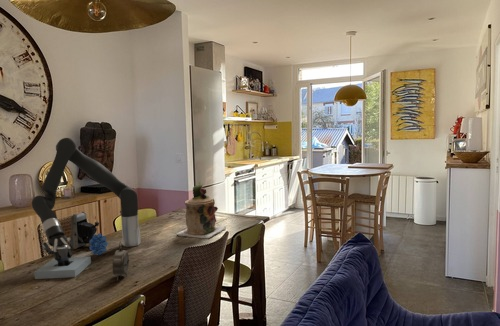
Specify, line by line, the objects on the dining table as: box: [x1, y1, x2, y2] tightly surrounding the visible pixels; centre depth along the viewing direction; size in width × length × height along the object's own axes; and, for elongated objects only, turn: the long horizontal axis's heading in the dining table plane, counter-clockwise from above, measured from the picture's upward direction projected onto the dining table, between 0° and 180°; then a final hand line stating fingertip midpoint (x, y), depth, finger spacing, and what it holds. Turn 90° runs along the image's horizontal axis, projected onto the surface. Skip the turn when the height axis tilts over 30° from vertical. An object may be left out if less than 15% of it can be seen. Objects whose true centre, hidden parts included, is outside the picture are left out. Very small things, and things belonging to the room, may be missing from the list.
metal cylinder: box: [56, 244, 69, 266], centre depth 174 cm, size 5×5×10 cm
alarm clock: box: [112, 241, 130, 282], centre depth 163 cm, size 11×5×16 cm, turn 5°
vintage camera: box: [70, 211, 100, 250], centre depth 211 cm, size 10×16×20 cm, turn 78°
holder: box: [33, 256, 92, 280], centre depth 174 cm, size 18×18×3 cm
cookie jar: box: [175, 181, 227, 239], centre depth 232 cm, size 25×25×32 cm
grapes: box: [89, 233, 109, 256], centre depth 196 cm, size 12×7×12 cm, turn 72°
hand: (64, 258), depth 172 cm, fingers closed on metal cylinder, 4 cm apart
